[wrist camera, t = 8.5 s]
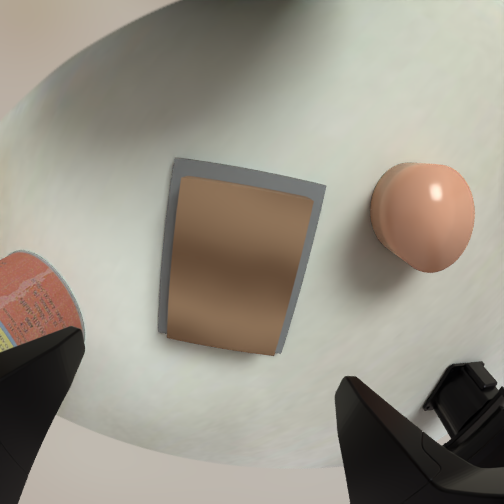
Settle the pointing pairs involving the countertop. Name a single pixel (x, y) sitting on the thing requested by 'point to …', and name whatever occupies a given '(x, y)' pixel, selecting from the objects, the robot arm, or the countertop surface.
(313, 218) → the mat
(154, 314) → the countertop surface
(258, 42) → the countertop surface
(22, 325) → the canned food
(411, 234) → the peach rounded knob
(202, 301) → the cover
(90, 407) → the countertop surface
